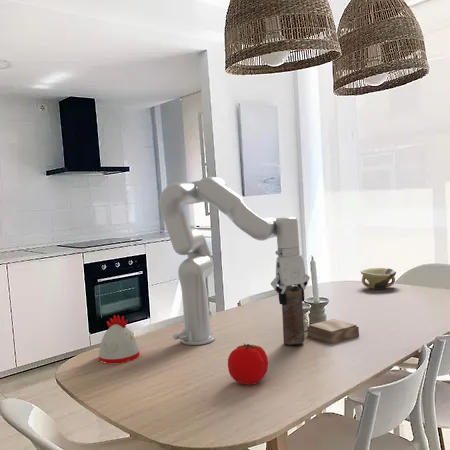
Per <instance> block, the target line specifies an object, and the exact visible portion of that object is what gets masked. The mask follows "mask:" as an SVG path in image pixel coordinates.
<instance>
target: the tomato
mask: <svg viewBox="0 0 450 450" xmlns="http://www.w3.org/2000/svg"><path fill="white" fill-rule="evenodd" d="M268 359H269V358H268V355H267V353H266V351H265V350H264V349H263V347H261V346H259V345H255V344H249V343H247V344H245V343H243V344H241V345H239V346H236V348H234V349H233V350H232V351H231V352H230V353H229V355H228V359H227V369H228V373H229V374H230V377H231V378H232V380H234V381H236V382H237V383H239V384H243V385H247V386H248V385H249V386H250V385H257V384H258V383H260V382H261V380H263V378H264V377H265V376H266V374H267V372H268V366H269V360H268Z"/></svg>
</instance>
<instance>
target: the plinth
mask: <svg viewBox="0 0 450 450" xmlns="http://www.w3.org/2000/svg"><path fill="white" fill-rule="evenodd" d="M359 328H360V327H359V326H358V325H357V324H354V323H350V322H346V321H344V320H339V319H336V318H335V319H334V318H332V319H331V318H330V319H328V320H323V321H320V322H315V323H311V324H308V326H306V332H307V336H308V337H310V338H313V339H317V340H320V341H323V342H325V343H328V344H335V343H338V342H343V341H346V340H348V339H349V340H350V339H353V338H357V337H359V336H360V329H359ZM356 336H357V337H356Z"/></svg>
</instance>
